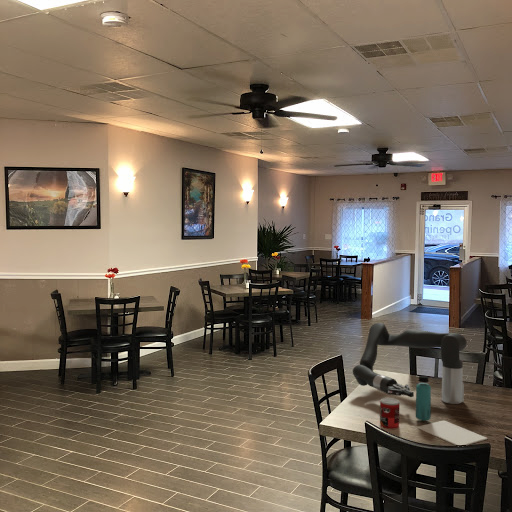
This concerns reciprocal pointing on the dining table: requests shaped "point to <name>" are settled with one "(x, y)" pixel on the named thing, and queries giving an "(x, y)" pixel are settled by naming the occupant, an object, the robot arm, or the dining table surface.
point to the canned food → (389, 413)
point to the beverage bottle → (423, 399)
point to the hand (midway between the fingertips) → (412, 394)
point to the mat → (452, 433)
